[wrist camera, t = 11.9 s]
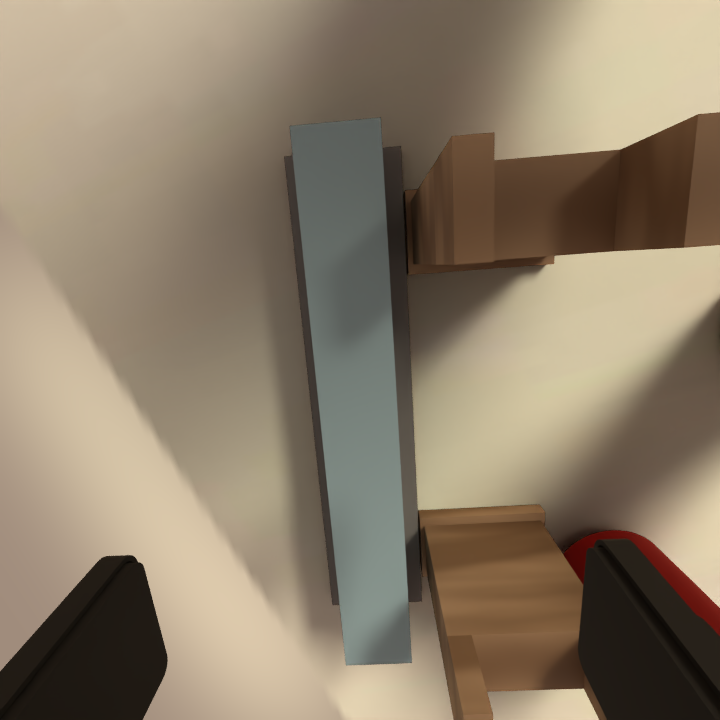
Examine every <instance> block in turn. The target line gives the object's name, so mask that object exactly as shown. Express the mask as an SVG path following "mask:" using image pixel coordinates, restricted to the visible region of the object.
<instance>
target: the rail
mask: <svg viewBox="0 0 720 720" xmlns="http://www.w3.org/2000/svg"><path fill="white" fill-rule="evenodd" d="M290 135H291V144H292V154H293V164H294V173H295V183H296V192H297V202H298V211H299V221H300V230H301V240H302V250H303V259H304V269H305V278H306V288H307V297H308V307H309V317H310V326H311V336H312V345H313V355H314V364H315V374H316V384H317V393H318V403H319V412H320V422H321V431H322V441H323V450H324V460H325V470H326V479H327V489H328V498H329V508H330V517H331V527H332V537H333V546H334V556H335V565H336V575H337V584H338V594H339V604H340V613H341V623H342V632H343V642H344V651H345V661H346V665H371V664H399V663H412V656H411V638H410V621H409V604H408V586H407V569H406V551H405V534H404V516H403V499H402V481H401V464H400V446H399V429H398V411H397V394H396V376H395V359H394V342H393V324H392V307H391V289H390V272H389V254H388V237H387V219H386V202H385V184H384V167H383V149H382V132H381V117H380V118H370V119H359V120H348V121H337V122H326V123H316V124H305V125H294V126H290Z"/></svg>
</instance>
